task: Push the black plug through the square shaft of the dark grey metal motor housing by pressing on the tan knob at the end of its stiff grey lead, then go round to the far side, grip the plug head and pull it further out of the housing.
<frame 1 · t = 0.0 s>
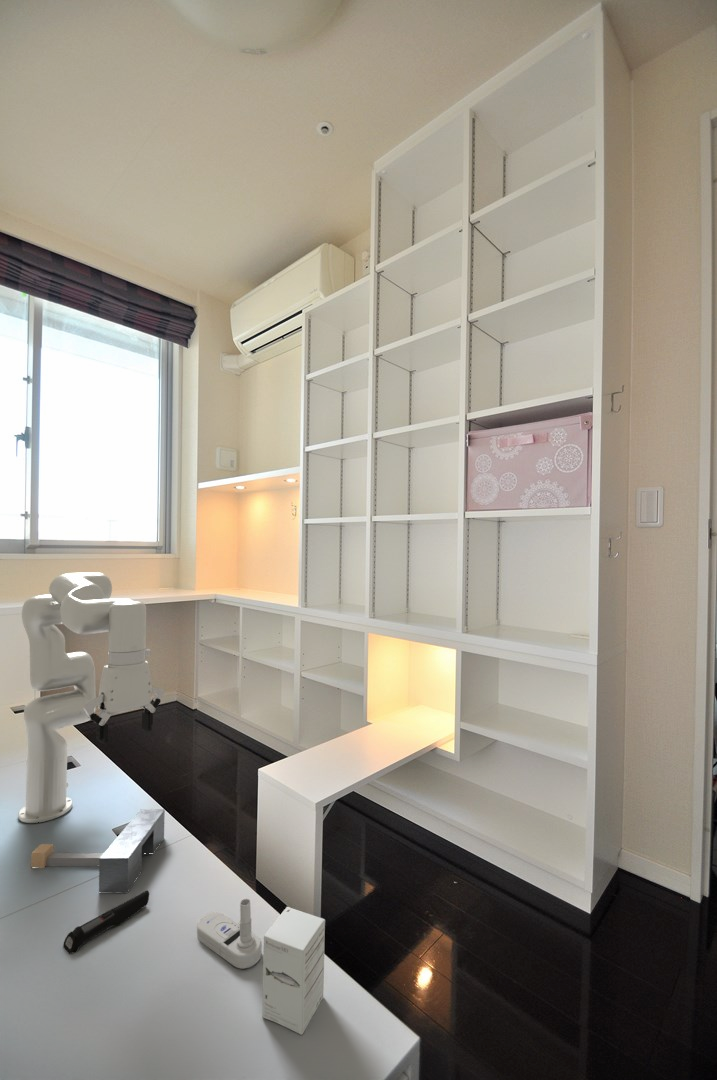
hand: (125, 735, 109), 31 cm above the table, tool pointing down, fingers open, 9 cm apart
plug: (121, 863, 114), on the table
supplement box: (293, 1009, 78), on the table
electronic device: (228, 947, 90), on the table
motor housing: (134, 863, 114), on the table
electric trimmer: (107, 928, 95), on the table
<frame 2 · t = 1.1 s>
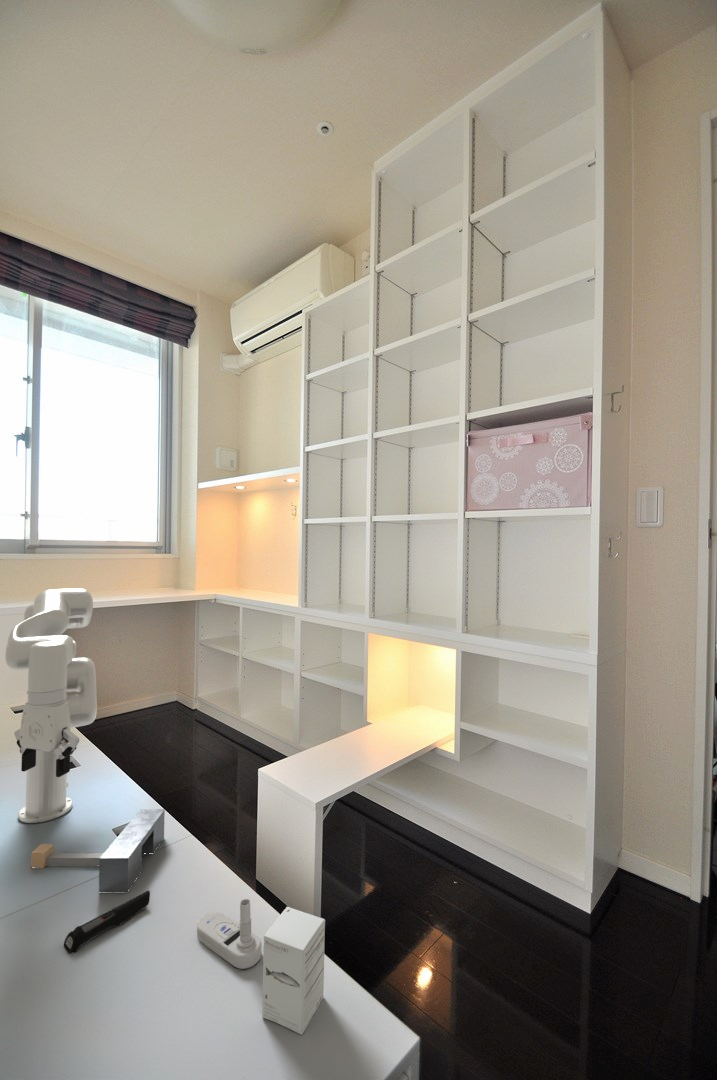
hand: (45, 771, 113), 22 cm above the table, tool pointing down, fingers open, 9 cm apart
nothing on the table moved.
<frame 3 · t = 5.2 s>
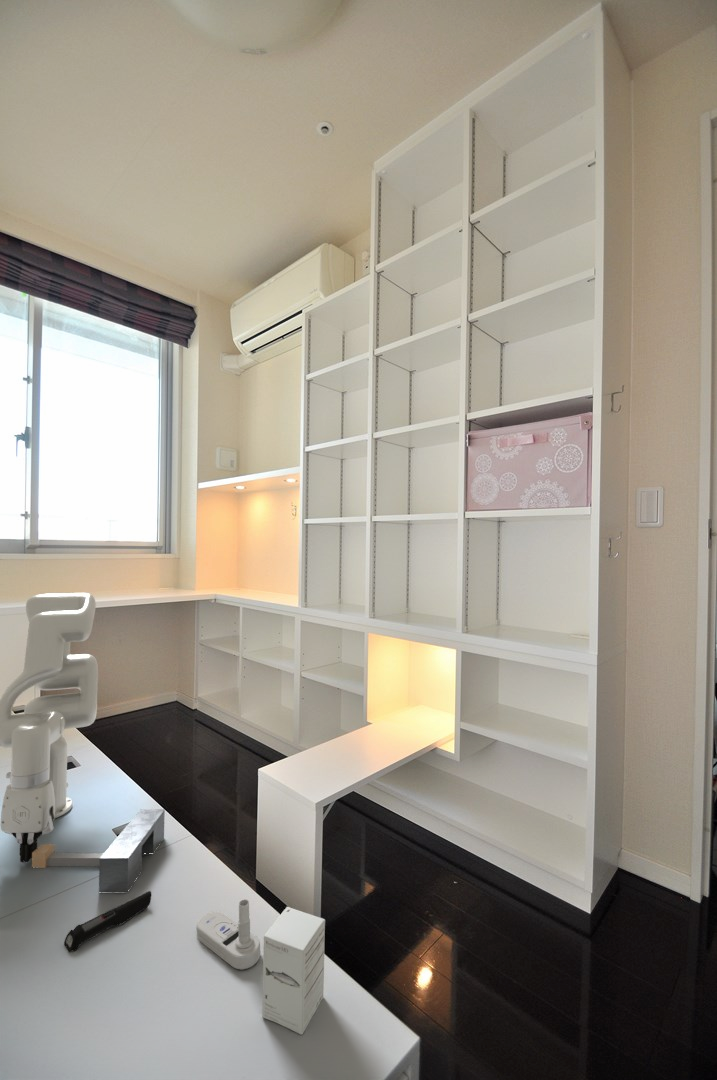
hand: (28, 858, 113), 1 cm above the table, tool pointing down, fingers closed
plug: (121, 863, 114), on the table, touching gripper
everything else where it was.
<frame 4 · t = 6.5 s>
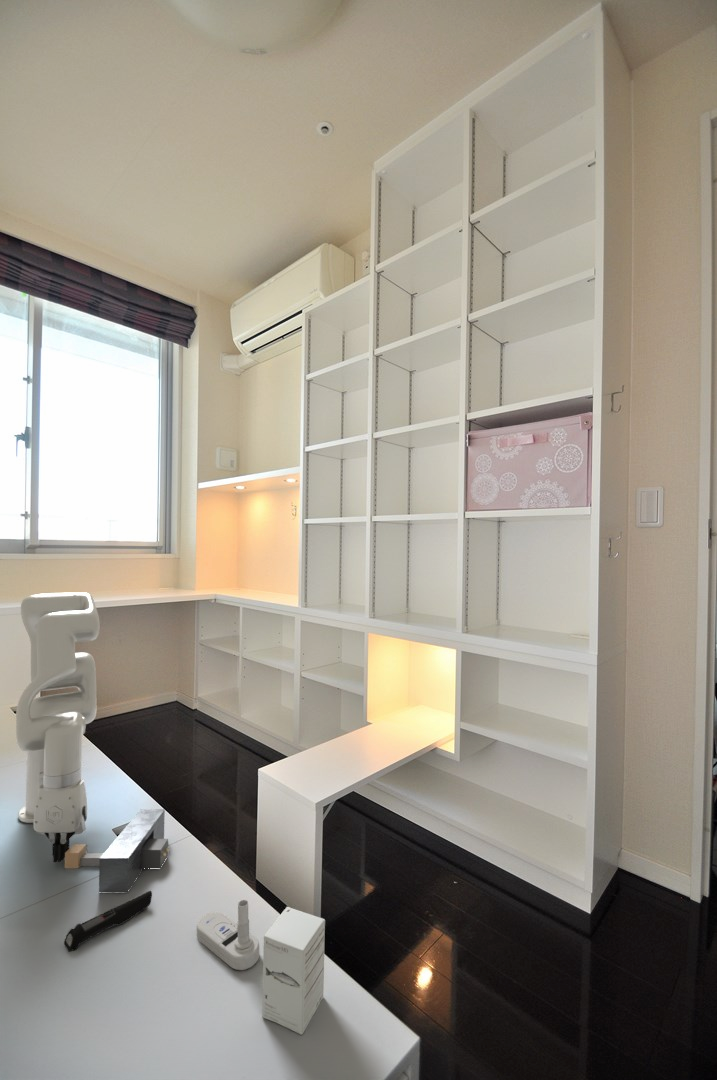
hand: (60, 858, 114), 1 cm above the table, tool pointing down, fingers closed
plug: (154, 863, 114), on the table, touching gripper
everything else where it was.
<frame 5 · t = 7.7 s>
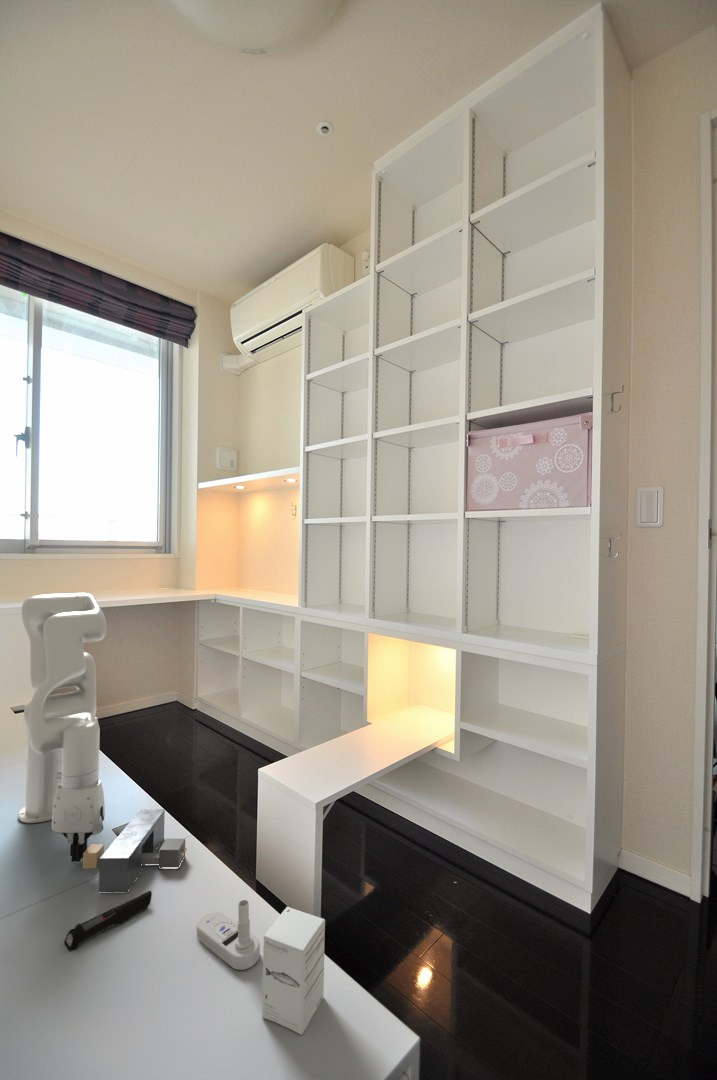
hand: (78, 858, 114), 1 cm above the table, tool pointing down, fingers closed
plug: (172, 863, 114), on the table, touching gripper
everything else where it was.
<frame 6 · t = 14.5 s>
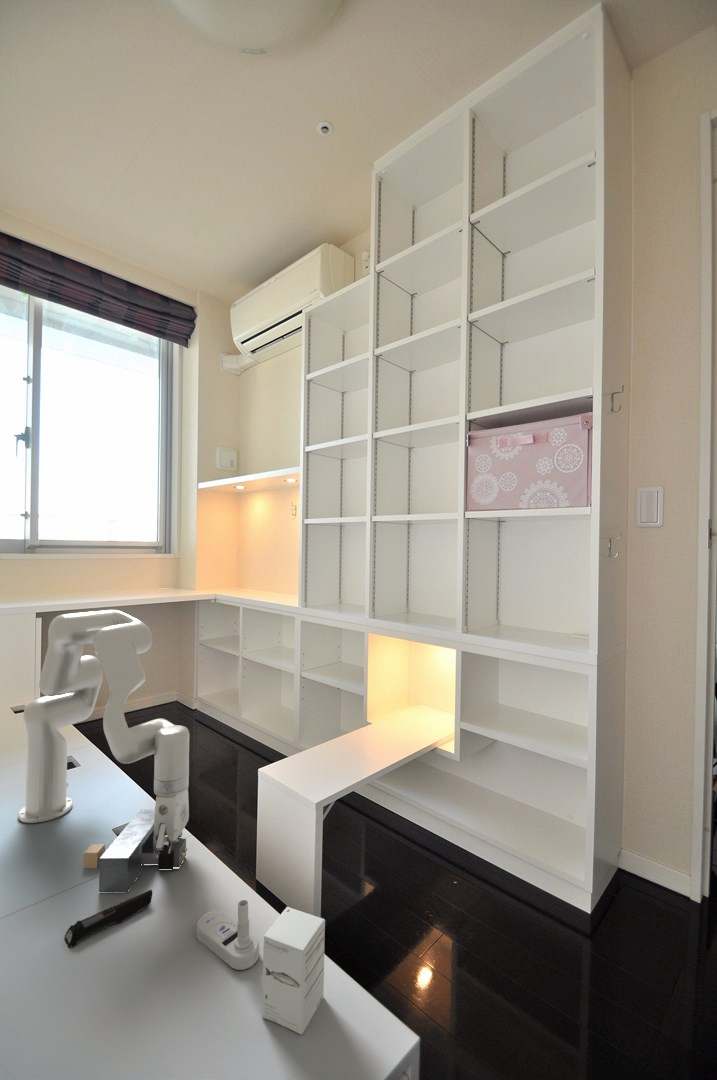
hand: (170, 861, 114), 0 cm above the table, tool pointing down, fingers closed on plug, 4 cm apart
plug: (173, 863, 114), on the table, touching gripper
when the fingers open (0 cm above the table, at t = 16.6 s): plug stays where it is, on the table.
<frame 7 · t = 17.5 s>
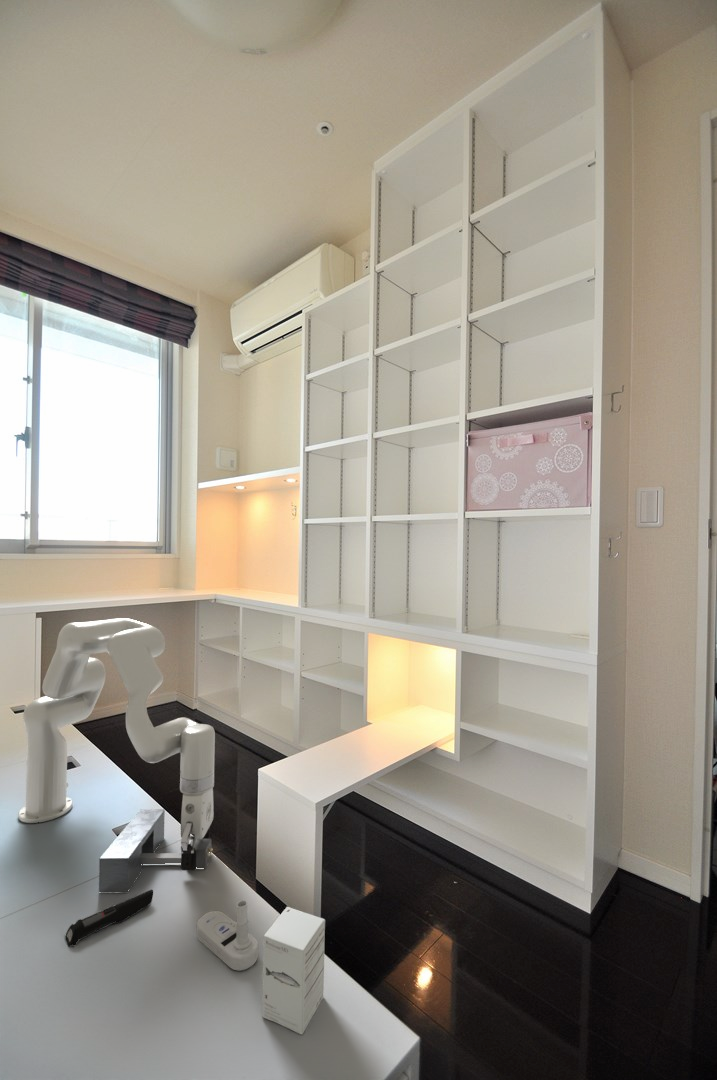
hand: (195, 855, 114), 2 cm above the table, tool pointing down, fingers open, 9 cm apart
plug: (198, 863, 114), on the table
everything else where it was.
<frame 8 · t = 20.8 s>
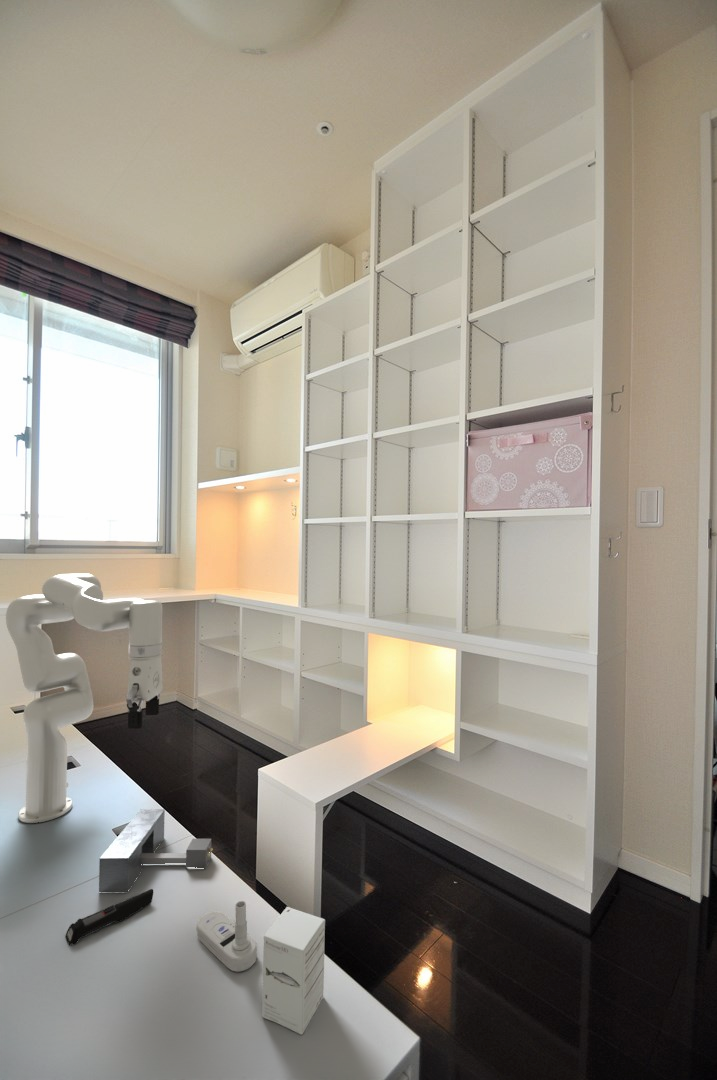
hand: (144, 721, 121), 30 cm above the table, tool pointing down, fingers open, 9 cm apart
at the end: plug inside the target area on the table beside the motor housing (0.3 cm from its centre), on the table; plug moved 17.8 cm from its start; the gripper is holding nothing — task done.
